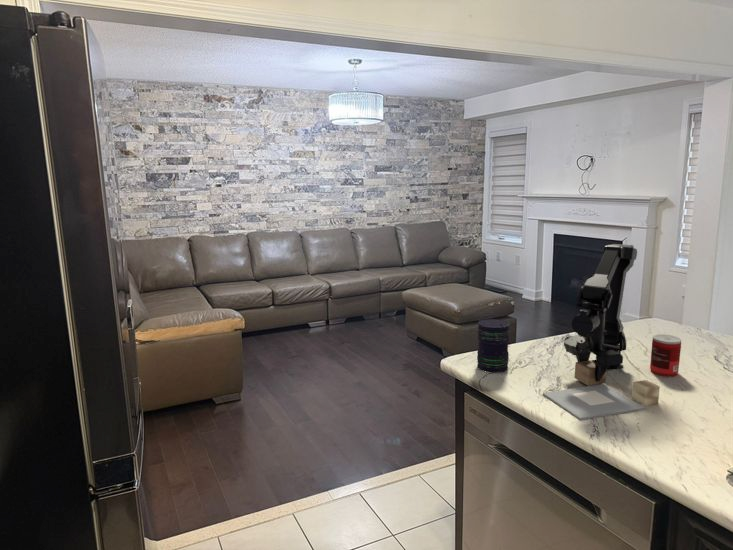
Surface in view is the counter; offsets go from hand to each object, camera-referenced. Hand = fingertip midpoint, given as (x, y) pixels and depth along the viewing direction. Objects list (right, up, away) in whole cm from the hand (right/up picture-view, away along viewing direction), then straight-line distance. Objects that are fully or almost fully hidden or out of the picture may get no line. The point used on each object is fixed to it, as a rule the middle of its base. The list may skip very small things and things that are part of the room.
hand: (590, 377), depth 150 cm
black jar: (-25, 0, +14) cm, 29 cm away
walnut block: (0, -1, 0) cm, 1 cm away
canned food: (+26, 0, +7) cm, 27 cm away
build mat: (-5, -4, -12) cm, 14 cm away
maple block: (+9, -4, -12) cm, 16 cm away
